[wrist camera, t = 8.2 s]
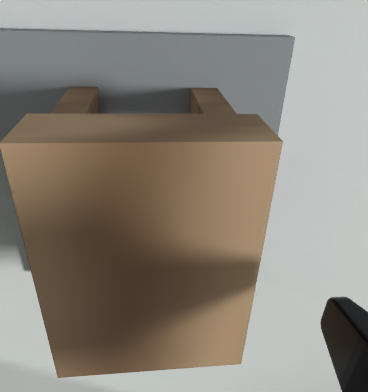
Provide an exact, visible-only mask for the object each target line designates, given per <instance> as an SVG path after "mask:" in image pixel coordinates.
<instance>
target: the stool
mask: <svg viewBox="0 0 368 392" xmlns="http://www.w3.org/2000/svg"><path fill="white" fill-rule="evenodd" d="M282 143H283V141H282V140H281V139H280V138H279V137H278V136H277V135H276V134H275V132H274V131H273V130H272V129H271V128H270V127H269V126H268V125H267V124H266V123H265V122H264V121H263V120H262V118H261V117H260V116H259V115H258V114H237V113H236V112H235V111H234V109H233V108H232V107H231V105H230V104H229V103H228V102H227V100H226V99H225V98H224V96H223V95H222V94H221V92H220V91H219V90H218V88H191V95H190V114H101V111H100V100H99V88H98V87H76V86H70V87H69V89H68V90H67V91H66V93H65V94H64V95H63V97H62V98H61V99H60V101H59V102H58V103H57V105H56V106H55V107H54V109H53V110H52V111H51V113H50V114H26V115H25V116H24V117H23V118H22V119H21V120H20V122H19V123H18V124H17V125H16V126H15V127H14V128H13V129H12V130H11V131H10V132H9V133H8V134H7V135H6V136H5V138H4V139H3V140H2V141H1V142H0V149H1V153H2V157H3V161H4V165H5V169H6V173H7V177H8V181H9V185H10V189H11V193H12V197H13V201H14V205H15V209H16V213H17V217H18V221H19V225H20V229H21V233H22V237H23V241H24V245H25V249H26V253H27V257H28V261H29V265H30V269H31V273H32V277H33V281H34V285H35V289H36V293H37V297H38V301H39V304H40V308H41V312H42V316H43V320H44V324H45V328H46V332H47V336H48V340H49V344H50V348H51V352H52V356H53V360H54V364H55V368H56V372H57V376H58V378H61V377H74V376H88V375H101V374H114V373H127V372H140V371H154V370H167V369H180V368H193V367H206V366H220V365H233V364H241V361H242V355H243V350H244V345H245V339H246V334H247V329H248V323H249V318H250V313H251V308H252V302H253V297H254V292H255V286H256V281H257V276H258V270H259V265H260V260H261V255H262V249H263V244H264V239H265V233H266V228H267V223H268V217H269V212H270V207H271V201H272V196H273V191H274V186H275V180H276V175H277V170H278V164H279V159H280V154H281V148H282Z"/></svg>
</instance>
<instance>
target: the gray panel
mask: <svg viewBox="0 0 368 392" xmlns="http://www.w3.org/2000/svg"><path fill="white" fill-rule="evenodd" d="M294 40H295V37H292V36H286V35H245V34H203V33H162V32H121V31H79V30H38V29H0V142H1V141H2V140H3V139H4V138H5V136H6V135H7V134H8V133H9V132H10V131H11V130H12V129H13V128H14V127H15V126H16V125H17V124H18V123H19V122H20V120H21V119H22V118H23V117H24V116H25V115H26V114H50V113H51V111H52V110H53V109H54V107H55V106H56V105H57V103H58V102H59V101H60V99H61V98H62V97H63V95H64V94H65V93H66V91H67V90H68V89H69V87H70V86H76V87H98V88H99V100H100V111H101V114H190V95H191V88H218V90H219V91H220V92H221V94H222V95H223V96H224V98H225V99H226V100H227V102H228V103H229V104H230V105H231V107H232V108H233V109H234V111H235V112H236V113H237V114H258V115H259V116H260V117H261V118H262V120H263V121H264V122H265V123H266V124H267V125H268V126H269V127H270V128H271V129H272V130H273V131H274V132H275V134H276V135H277V136H278V130H279V125H280V119H281V113H282V108H283V102H284V96H285V91H286V85H287V79H288V74H289V68H290V62H291V57H292V51H293V45H294Z"/></svg>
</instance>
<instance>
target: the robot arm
mask: <svg viewBox="0 0 368 392" xmlns="http://www.w3.org/2000/svg"><path fill="white" fill-rule="evenodd" d="M321 329H322V333H323V336H324V339H325V342H326V345H327V348H328V351H329V354H330V357H331V360H332V363H333V366H334V369H335V372H336V375H337V378H338V381H339V384H340V387H341V389H342V392H368V312H367V311H366V310H364V309H363V308H362V307H360V306H359V305H357V304H356V303H355V302H353V301H352V300H351V299H349V298H347V297H332V298H330V299H329V300H328V301H327V304H326V307H325V310H324V312H323V315H322V318H321Z"/></svg>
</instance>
